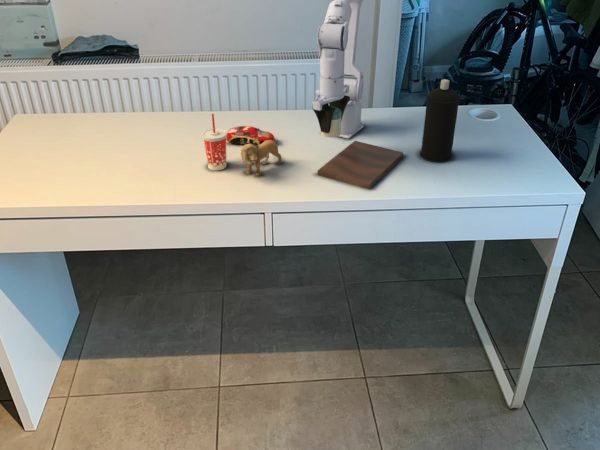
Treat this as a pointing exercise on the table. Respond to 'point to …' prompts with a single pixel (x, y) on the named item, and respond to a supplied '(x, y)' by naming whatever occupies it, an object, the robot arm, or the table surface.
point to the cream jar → (334, 124)
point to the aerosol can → (440, 123)
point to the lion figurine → (259, 154)
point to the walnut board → (361, 164)
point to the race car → (248, 135)
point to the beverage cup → (215, 147)
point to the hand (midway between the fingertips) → (330, 128)
